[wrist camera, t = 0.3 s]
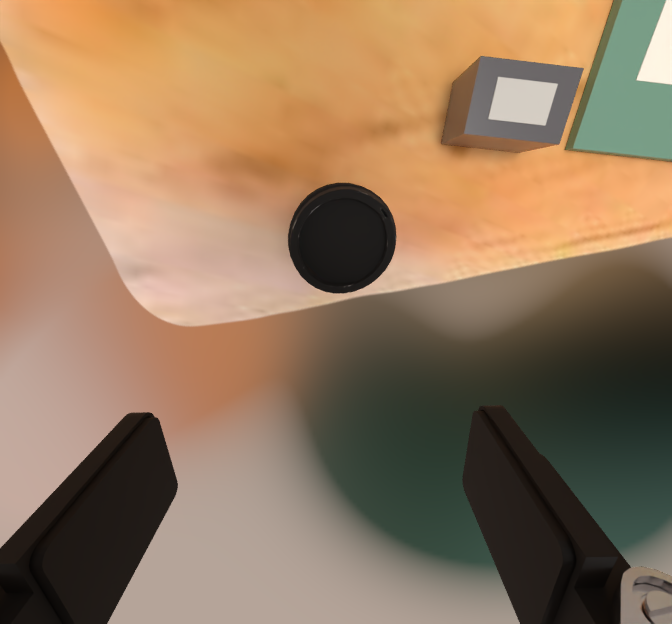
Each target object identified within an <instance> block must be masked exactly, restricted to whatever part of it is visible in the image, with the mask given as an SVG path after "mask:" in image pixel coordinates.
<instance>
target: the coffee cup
mask: <svg viewBox="0 0 672 624" xmlns="http://www.w3.org/2000/svg"><path fill="white" fill-rule="evenodd" d="M395 245H396V227H395V223H394V219H393V216H392V214H391V212H390V210H389V208H388V206H387V205H386V204H385V203H384V202H383V200H382V199H381V198H380V197H379V196H377V195H376V194H375V193H373V192H372V191H370V190H368V189H366V188H364V187H362V186H359V185H355V184H351V183H335V184H329V185H326V186H323V187H321V188H319V189H317V190H315V191H314V192H312V193H311V194H309V195H308V196H307V197H306V198H305V199H304V200H303V201H302V202H301V203H300V205H299V206H298V208H297V210H296V211H295V213H294V216H293V218H292V221H291V224H290V228H289V234H288V246H289V251H290V256H291V258H292V261H293V263H294V265H295V267H296V269H297V271H298V272H299V273H300V275H301V276H302V277H303V278H304V279H305V280H306V281H307V282H308V283H309V284H311V285H312V286H314V287H315V288H317V289H320V290H322V291H325V292H330V293H348V292H353V291H356V290H359V289H362V288H364V287H366V286H367V285H369V284H371V283H372V282H373V281H375V280H376V279H377V278H378V277H379V276H380V275H381V274H382V273H383V272H384V271H385V270H386V268H387V266H388V265H389V263H390V261H391V259H392V257H393V254H394V251H395Z"/></svg>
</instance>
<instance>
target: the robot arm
mask: <svg viewBox="0 0 672 624" xmlns="http://www.w3.org/2000/svg"><path fill="white" fill-rule="evenodd" d="M463 487H464V491H465V493H466V496H467V498H468V500H469V502H470V505H471V507H472V510H473V512H474V514H475V517H476V519H477V522H478V524H479V527H480V529H481V531H482V534H483V536H484V539H485V541H486V543H487V546H488V548H489V550H490V553H491V555H492V558H493V560H494V562H495V565H496V567H497V570H498V572H499V574H500V577H501V579H502V582H503V584H504V586H505V589H506V591H507V593H508V596H509V598H510V601H511V603H512V605H513V608H514V610H515V613H516V615H517V617H518V620H519V622H520V624H672V576H670V575H668V574H665V573H663V572H660V571H658V570H656V569H651V568H647V567H632V568H631V567H630V565H629V564H628V563H627V562H626V560H625V559H624V558H623V556H622V555H621V554H620V553H619V551H618V550H617V549H616V547H615V546H614V545H613V543H612V542H611V541H610V540H609V539H608V537H607V536H606V535H605V533H604V532H603V531H602V529H601V528H600V527H599V525H598V524H597V523H596V522H595V520H594V519H593V518H592V516H591V515H590V514H589V513H588V511H587V510H586V509H585V507H583V505H582V504H581V502H580V501H579V500H578V498H577V497H576V496H575V495H574V493H573V492H572V491H571V490H570V488H569V487H568V486H567V484H566V483H565V482H564V481H563V479H562V478H561V476H560V475H559V474H558V473H557V471H556V470H555V469H554V468H553V466H552V465H551V464H550V462H549V461H548V460H547V459H546V458H545V457H544V456H543V455H541V454H539V452H538V451H537V450H536V449H535V447H534V446H533V444H532V443H531V442H530V441H529V439H528V438H527V437H526V435H525V434H524V433H523V431H522V430H521V429H520V427H519V426H518V425H517V424H516V422H515V421H514V420H513V418H512V417H511V416H510V414H509V413H508V412H507V410H506V409H505V408H504V407H503V406H501V405H495V406H480V407H479V410H478V411H474V413H473V416H472V423H471V428H470V434H469V441H468V447H467V454H466V459H465V466H464V472H463ZM177 488H178V483H177V479H176V476H175V472H174V469H173V465H172V462H171V459H170V455H169V452H168V449H167V445H166V442H165V438H164V435H163V432H162V428H161V425H160V421H159V420H158V418H155V417H154V415H153V414H152V413H149V412H147V413H129V414H127V415H126V416H125V417H124V418H123V419H122V420H121V421H120V422H119V423H118V424H117V425H116V426H115V428H113V430H112V431H111V432H110V433H109V434H108V435H107V436H106V437H105V438H104V439H103V440H102V441H101V442H100V443H99V444H98V446H96V448H95V449H94V450H93V451H92V452H91V453H90V454H89V455H88V456H87V457H86V458H85V459H84V460H83V462H81V463H80V464H79V466H78V467H77V468H76V469H75V470H74V471H73V472H72V473H71V474H70V475H69V476H68V477H67V478H66V479H65V480H64V481H63V482H62V484H61V485H60V486H59V487H58V488H57V489H56V490H55V491H54V492H53V493H52V494H51V495H50V496H49V497H48V498H47V499H46V500H45V502H44V503H43V504H42V505H41V506H40V507H39V508H38V509H37V510H36V511H35V512H34V513H33V514H32V515H31V517H29V519H28V520H27V521H26V522H25V523H24V524H23V525H22V526H21V527H20V528H19V529H18V530H17V531H16V532H15V533H14V535H12V537H11V538H10V539H9V540H8V541H7V542H6V543H5V544H4V545H3V546H2V547H1V548H0V624H107V623H108V621H109V619H110V617H111V615H112V613H113V612H114V610H115V608H116V606H117V604H118V602H119V600H120V598H121V597H122V595H123V593H124V591H125V589H126V587H127V585H128V583H129V582H130V580H131V578H132V576H133V574H134V572H135V570H136V568H137V567H138V565H139V563H140V561H141V559H142V557H143V555H144V553H145V552H146V550H147V548H148V546H149V544H150V542H151V540H152V539H153V537H154V535H155V533H156V531H157V529H158V527H159V525H160V523H161V522H162V520H163V518H164V516H165V514H166V512H167V510H168V508H169V506H170V505H171V503H172V501H173V499H174V497H175V495H176V492H177Z"/></svg>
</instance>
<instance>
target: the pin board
mask: <svg viewBox="0 0 672 624" xmlns="http://www.w3.org/2000/svg"><path fill="white" fill-rule="evenodd" d="M565 150H572V151H581V152H590V153H599V154H608V155H617V156H626V157H635V158H644V159H653V160H662V161H670V162H672V0H614V2H613V5H612V8H611V11H610V14H609V17H608V20H607V23H606V26H605V29H604V32H603V35H602V38H601V41H600V44H599V47H598V50H597V53H596V56H595V59H594V62H593V65H592V69H591V72H590V75H589V78H588V81H587V84H586V87H585V90H584V93H583V96H582V99H581V102H580V105H579V108H578V111H577V114H576V117H575V120H574V123H573V126H572V129H571V133H570V136H569V139H568V142H567V145H566V148H565Z"/></svg>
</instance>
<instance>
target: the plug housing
mask: <svg viewBox="0 0 672 624" xmlns="http://www.w3.org/2000/svg"><path fill="white" fill-rule="evenodd" d="M583 69H584V68H577V67H568V66H560V65H552V64H543V63H535V62H527V61H518V60H510V59H502V58H493V57H485V56H480V57H479V58H478V59H477V60H476V61H475V62H474V63H473V64H472V65H471V66H470V67H469V68H468V69H467V70H466V71H464V72H463V73H462V74H461V75H460V76H459V77H458V78H457V79H456V80H455V81H454V82H453V85H452V90H451V95H450V101H449V106H448V111H447V116H446V121H445V126H444V131H443V136H442V141H441V144H445V145H454V146H463V147H472V148H481V149H490V150H499V151H508V152H517V153H520V152H525V151H530V150H534V149H539V148H544V147H549V146H554V145H559V144H560V141H561V137H562V134H563V131H564V128H565V125H566V122H567V119H568V116H569V112H570V109H571V106H572V103H573V100H574V97H575V94H576V91H577V87H578V84H579V81H580V78H581V75H582V72H583Z"/></svg>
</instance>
